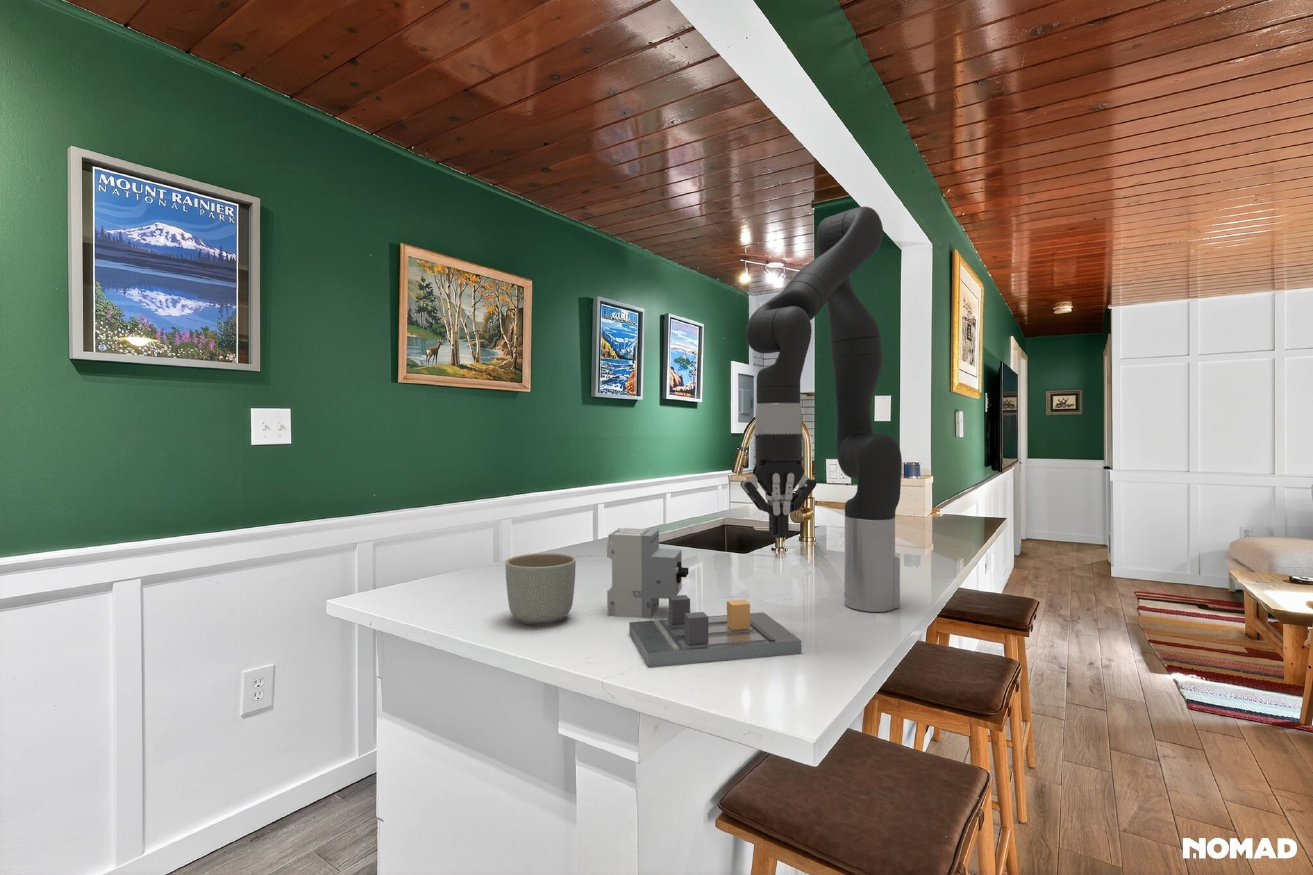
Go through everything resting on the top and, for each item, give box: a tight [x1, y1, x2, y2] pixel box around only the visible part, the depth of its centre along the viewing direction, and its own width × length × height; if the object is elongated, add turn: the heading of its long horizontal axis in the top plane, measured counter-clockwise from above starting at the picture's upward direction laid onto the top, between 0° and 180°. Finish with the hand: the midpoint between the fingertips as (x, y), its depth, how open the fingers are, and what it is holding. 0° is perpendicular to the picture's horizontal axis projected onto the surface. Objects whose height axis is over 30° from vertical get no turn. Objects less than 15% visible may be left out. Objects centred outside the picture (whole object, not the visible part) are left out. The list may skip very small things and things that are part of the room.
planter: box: [505, 552, 577, 626], centre depth 115 cm, size 12×12×11 cm
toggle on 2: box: [684, 611, 709, 645], centre depth 97 cm, size 3×3×4 cm
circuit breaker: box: [606, 527, 690, 619], centre depth 120 cm, size 8×14×15 cm, turn 78°
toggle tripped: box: [726, 599, 751, 630], centre depth 104 cm, size 3×3×4 cm
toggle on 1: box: [668, 594, 691, 624], centre depth 107 cm, size 3×3×4 cm
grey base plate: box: [628, 611, 803, 668], centre depth 103 cm, size 24×15×2 cm, turn 103°
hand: (778, 537), depth 105 cm, fingers closed
